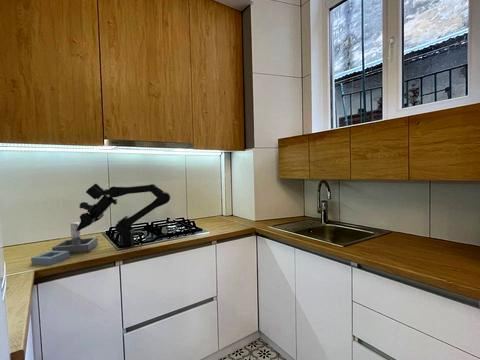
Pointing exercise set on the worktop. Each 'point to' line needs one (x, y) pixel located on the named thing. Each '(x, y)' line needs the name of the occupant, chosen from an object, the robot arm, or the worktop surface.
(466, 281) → the worktop surface
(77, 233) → the stop pin
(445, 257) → the worktop surface
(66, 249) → the tray
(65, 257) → the socket block
